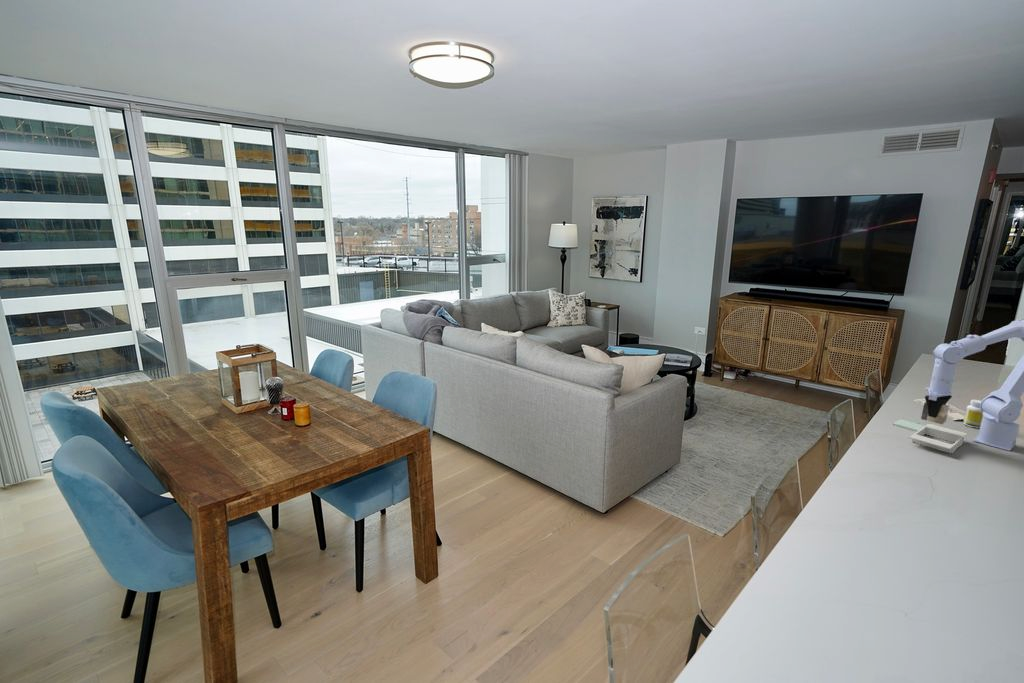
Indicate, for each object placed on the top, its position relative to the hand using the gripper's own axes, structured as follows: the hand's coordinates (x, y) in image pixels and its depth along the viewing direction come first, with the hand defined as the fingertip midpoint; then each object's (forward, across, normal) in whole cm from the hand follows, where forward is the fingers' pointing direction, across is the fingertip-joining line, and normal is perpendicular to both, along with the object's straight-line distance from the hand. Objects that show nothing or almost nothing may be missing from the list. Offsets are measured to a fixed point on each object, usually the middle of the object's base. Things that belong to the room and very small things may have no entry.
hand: (934, 415), depth 176 cm
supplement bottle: (+9, -27, +6) cm, 29 cm away
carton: (+9, +3, +3) cm, 10 cm away
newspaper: (+10, -40, -4) cm, 41 cm away
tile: (+9, -8, -8) cm, 14 cm away
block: (+2, 0, 0) cm, 2 cm away
